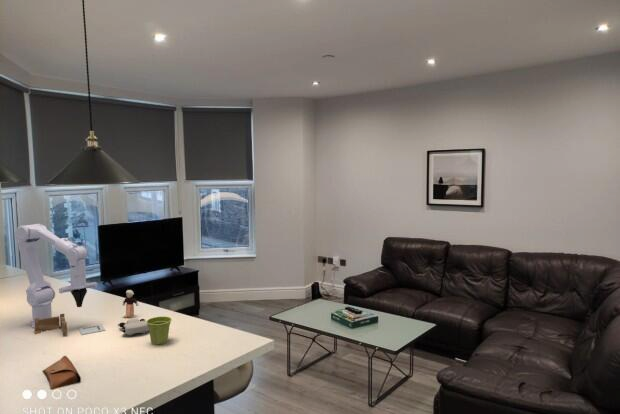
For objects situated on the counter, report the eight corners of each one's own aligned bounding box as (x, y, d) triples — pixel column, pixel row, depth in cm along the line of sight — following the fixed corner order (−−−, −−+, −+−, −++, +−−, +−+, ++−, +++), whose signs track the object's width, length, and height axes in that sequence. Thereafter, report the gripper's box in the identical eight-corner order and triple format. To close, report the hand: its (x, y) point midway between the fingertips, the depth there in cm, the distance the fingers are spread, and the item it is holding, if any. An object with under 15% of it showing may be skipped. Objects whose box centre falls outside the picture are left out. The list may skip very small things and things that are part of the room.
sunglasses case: (39, 370, 144) (50, 351, 145) (60, 375, 148) (71, 356, 150) (50, 390, 130) (62, 369, 132) (73, 395, 134) (84, 374, 136)
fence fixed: (34, 330, 181) (33, 317, 180) (66, 325, 187) (65, 312, 187) (34, 334, 177) (34, 320, 176) (67, 328, 183) (66, 315, 183)
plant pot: (177, 339, 171) (176, 317, 171) (161, 347, 162) (161, 325, 162) (157, 336, 174) (157, 315, 174) (141, 344, 165) (140, 322, 165)
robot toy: (116, 331, 183) (123, 339, 170) (115, 320, 183) (122, 328, 170) (146, 325, 190) (155, 333, 177) (145, 315, 190) (154, 322, 177)
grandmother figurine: (120, 318, 196) (119, 291, 195) (123, 315, 200) (122, 289, 199) (137, 318, 196) (136, 291, 195) (140, 315, 200) (139, 288, 199)
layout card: (78, 328, 183) (78, 327, 183) (101, 324, 188) (101, 323, 188) (81, 335, 176) (81, 334, 176) (105, 330, 181) (105, 329, 181)
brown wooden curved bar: (60, 325, 185) (59, 314, 184) (64, 324, 185) (64, 313, 185) (63, 335, 173) (62, 322, 173) (67, 334, 174) (67, 322, 174)
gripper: (62, 279, 174) (63, 312, 175) (99, 273, 185) (100, 304, 186) (56, 276, 179) (58, 308, 180) (93, 271, 190) (94, 301, 191)
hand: (79, 306), depth 183 cm, fingers closed
